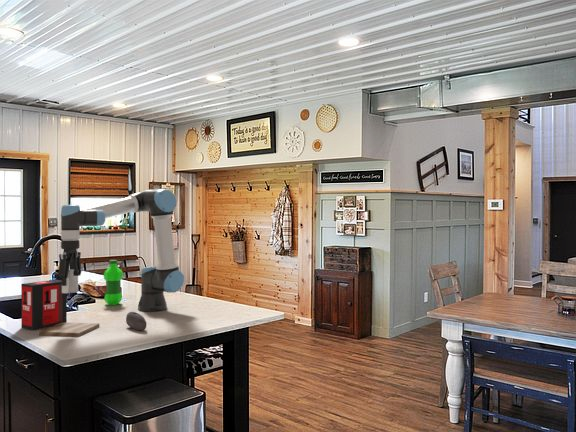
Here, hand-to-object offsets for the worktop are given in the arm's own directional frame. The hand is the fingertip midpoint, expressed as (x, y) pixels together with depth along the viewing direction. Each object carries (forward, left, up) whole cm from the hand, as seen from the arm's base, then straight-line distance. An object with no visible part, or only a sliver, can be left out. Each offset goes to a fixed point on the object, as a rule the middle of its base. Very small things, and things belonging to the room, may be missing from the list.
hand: (70, 291), depth 222 cm
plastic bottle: (+10, -63, -18) cm, 66 cm away
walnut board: (0, 0, -17) cm, 17 cm away
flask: (0, 0, 0) cm, 0 cm away
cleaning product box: (+17, -8, -18) cm, 26 cm away
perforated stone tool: (-28, -7, -18) cm, 34 cm away
